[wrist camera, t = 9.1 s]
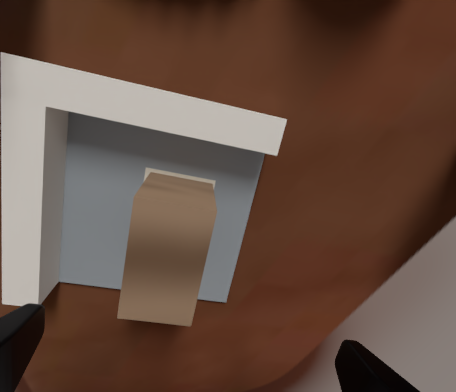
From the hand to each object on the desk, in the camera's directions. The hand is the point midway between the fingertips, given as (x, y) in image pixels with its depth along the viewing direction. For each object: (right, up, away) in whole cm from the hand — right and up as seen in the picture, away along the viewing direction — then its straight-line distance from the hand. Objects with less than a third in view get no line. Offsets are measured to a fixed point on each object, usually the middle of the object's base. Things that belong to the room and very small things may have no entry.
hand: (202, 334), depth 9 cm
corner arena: (-5, +4, +11) cm, 12 cm away
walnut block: (-3, +2, +11) cm, 11 cm away
